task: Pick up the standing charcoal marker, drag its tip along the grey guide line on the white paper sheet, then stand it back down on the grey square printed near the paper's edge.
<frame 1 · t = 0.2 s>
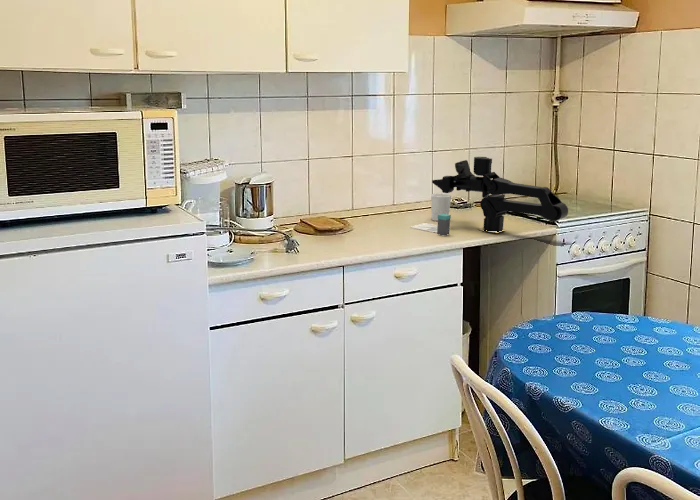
hand: (438, 179, 301), 17 cm above the table, tool horizontal, fingers open, 9 cm apart
white cup: (439, 220, 309), on the table
paper: (430, 228, 293), on the table
marker: (443, 234, 284), on the table
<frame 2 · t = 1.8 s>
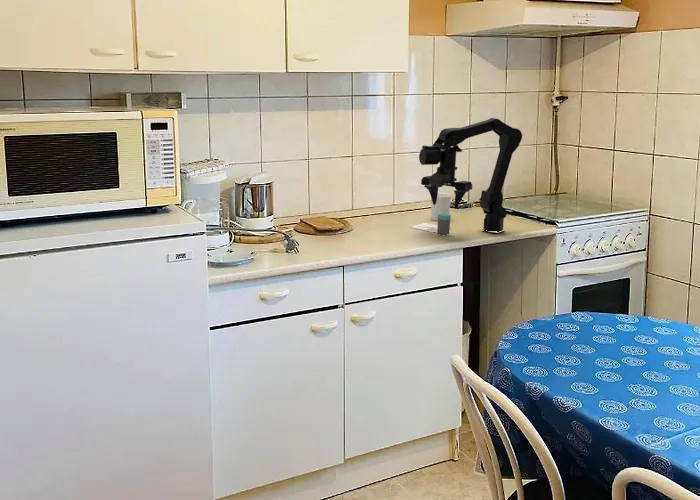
hand: (445, 206, 281), 11 cm above the table, tool pointing down, fingers open, 9 cm apart
nothing on the table moved.
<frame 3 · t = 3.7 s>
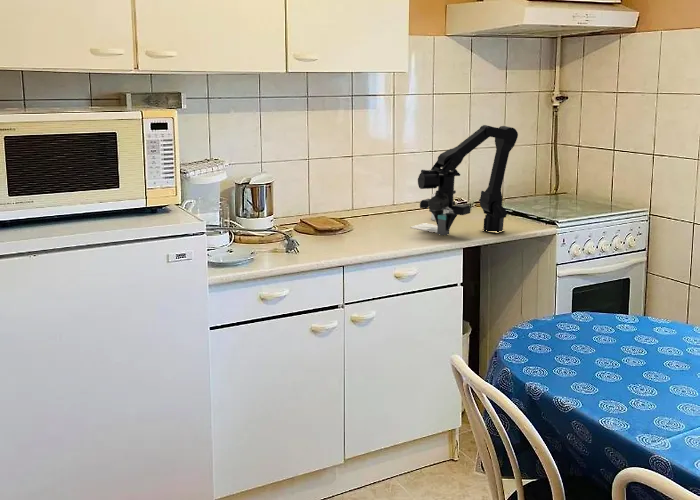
hand: (443, 229, 283), 2 cm above the table, tool pointing down, fingers closed on marker, 3 cm apart
marker: (443, 234, 284), on the table, touching gripper
everything else where it was.
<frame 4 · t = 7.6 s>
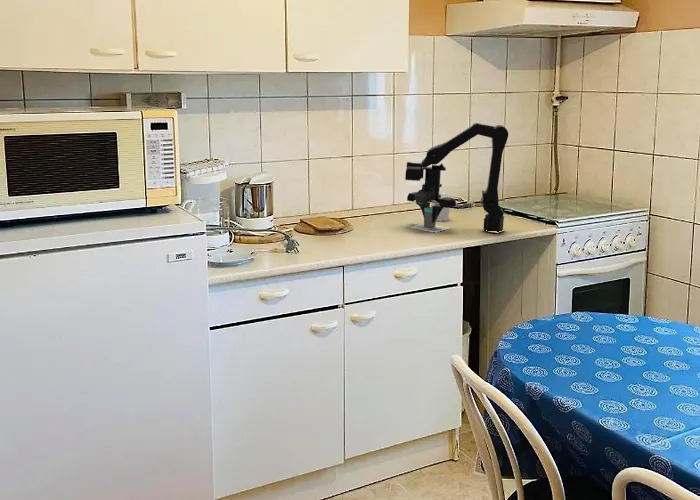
hand: (429, 222, 292), 2 cm above the table, tool pointing down, fingers closed on marker, 3 cm apart
marker: (429, 226, 293), point 1 cm above the table, touching gripper
everything else where it was.
when the fingers open (3 cm above the table, at t = 11.7 s): marker stays where it is, resting on paper.
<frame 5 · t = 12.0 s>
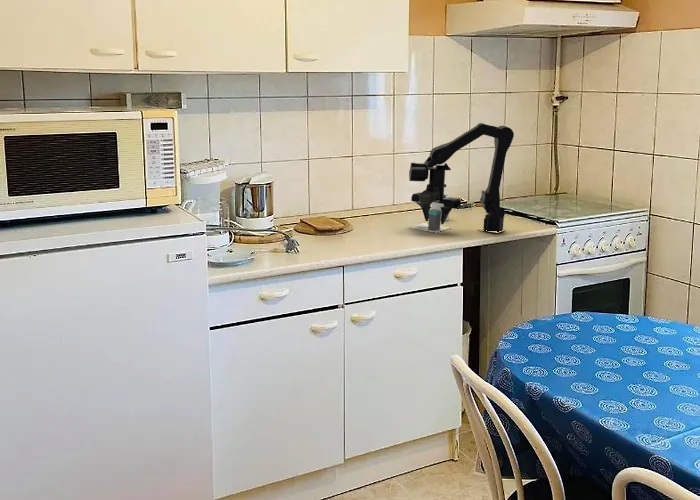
hand: (434, 222, 289), 3 cm above the table, tool pointing down, fingers open, 7 cm apart
marker: (434, 229, 289), resting on paper
everything else where it was.
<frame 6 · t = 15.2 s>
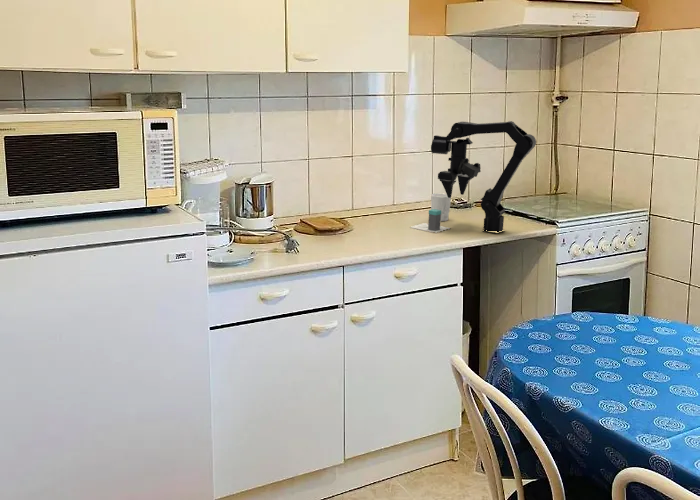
hand: (455, 196, 294), 12 cm above the table, tool pointing down, fingers open, 9 cm apart
nothing on the table moved.
at the end: marker 0.1 cm from the target spot on the paper, point 0.4 cm above the paper's base; marker tilted 0°; the gripper is holding nothing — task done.
